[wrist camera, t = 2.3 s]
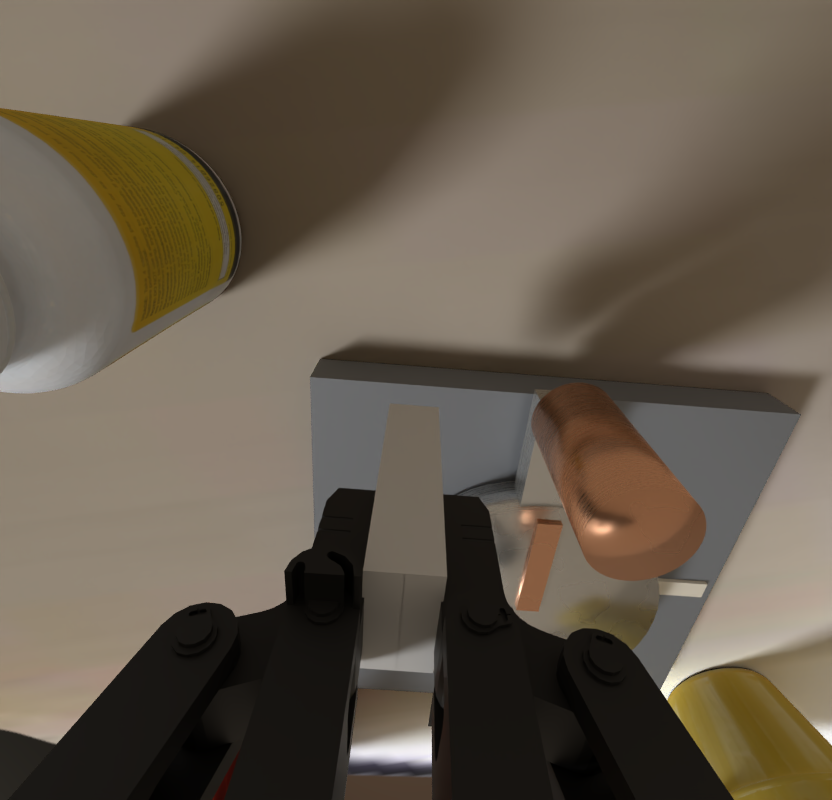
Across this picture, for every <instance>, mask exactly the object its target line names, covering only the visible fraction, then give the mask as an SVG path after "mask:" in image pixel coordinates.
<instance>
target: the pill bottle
mask: <svg viewBox="0 0 832 800" xmlns="http://www.w3.org/2000/svg"><path fill="white" fill-rule="evenodd" d="M241 239H242V238H241V228H240V223H239V218H238V215H237V211H236V209H235V206H234V203H233V201H232V199H231V197H230V195H229V193H228V191H227V189H226V187H225V186H224V184H223V183H222V181H221V180H220V178H219V177H218V176H217V174H216V173H215V172H214V171H213V169H212V168H211V167H210V166H209V165H208V164H207V163H206V162H205V161H204V160H203V159H202V158H201V157H200V156H198V155H197V154H196V153H195V152H193V151H192V150H191V149H189V148H188V147H186V146H185V145H183V144H181V143H180V142H178V141H176V140H174V139H172V138H170V137H168V136H165V135H163V134H160V133H157V132H154V131H150V130H146V129H141V128H135V127H129V126H122V125H115V124H108V123H101V122H94V121H87V120H80V119H73V118H66V117H59V116H52V115H45V114H39V113H31V112H24V111H17V110H10V109H2V108H0V392H8V393H39V392H46V391H53V390H57V389H61V388H65V387H68V386H71V385H74V384H77V383H79V382H81V381H83V380H85V379H87V378H89V377H91V376H93V375H95V374H96V373H98V372H100V371H101V370H103V369H104V368H106V367H108V366H109V365H111V364H112V363H114V362H115V361H117V360H118V359H120V358H122V357H123V356H125V355H126V354H128V353H129V352H131V351H133V350H134V349H136V348H137V347H139V346H140V345H142V344H144V343H145V342H147V341H148V340H150V339H151V338H153V337H155V336H156V335H158V334H159V333H161V332H163V331H164V330H166V329H167V328H169V327H171V326H172V325H174V324H175V323H177V322H179V321H180V320H182V319H183V318H185V317H187V316H188V315H190V314H192V313H193V312H195V311H197V310H198V309H200V308H202V307H203V306H205V305H207V304H208V303H210V302H211V301H213V300H214V299H215V298H216V297H218V296H219V295H220V294H221V293H222V292H223V291H224V290H225V288H226V287H227V286H228V285H229V283H230V282H231V280H232V278H233V276H234V274H235V272H236V270H237V267H238V263H239V259H240V255H241Z"/></svg>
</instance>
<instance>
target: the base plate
mask: <svg viewBox="0 0 832 800" xmlns="http://www.w3.org/2000/svg"><path fill="white" fill-rule="evenodd" d="M569 383H588V384H592V385H595V386H597V387H599V388H601V389H602V390H604V391H605V392H606V393H607V394H608V395H609V397H610V398H611V399H612V400H613V401H614V403H615V404H616V405H617V406H618V407H619V409H620V410H621V411H622V412H623V414H624V415H625V416H626V417H627V418H628V420H629V421H630V422H631V423H632V424H633V426H634V427H635V428H636V429H637V430H638V432H639V433H640V434H641V435H642V436H643V438H644V439H645V440H646V441H647V443H648V444H649V445H650V446H651V447H652V449H653V450H654V451H655V452H656V453H657V455H658V456H659V457H660V458H661V459H662V461H663V462H664V463H665V464H666V466H667V467H668V468H669V469H670V470H671V472H672V473H673V474H674V475H675V476H676V478H677V479H678V480H679V481H680V482H681V484H682V485H683V486H684V487H685V489H686V490H687V491H688V492H689V493H690V495H691V496H692V497H693V498H694V499H695V501H696V502H697V503H698V504H699V505H700V507H701V508H702V510H703V512H704V515H705V517H706V533H705V537H704V539H703V542H702V544H701V545H700V547H699V549H698V550H697V551H696V553H695V554H694V555H693V556H692V557H691V558H690V559H689V560H688V561H686V562H685V563H684V564H682V565H681V566H680V567H678V568H676V569H675V570H673V571H671V572H669V573H666V574H664V575H661V576H658V577H657V578H658V583H659V597H660V598H659V604H658V610H657V613H656V615H655V618H654V621H653V623H652V625H651V627H650V628H649V630H648V632H647V634H646V635H645V636H644V638H643V639H642V640H641V641H640V643H639V644H638V645H637V646H636V647H635V648H634V649H633V650H632V651H633V652H634V653H635V655H636V656H637V657H638V658H639V660H640V661H641V663H642V664H643V666H644V667H645V669H646V670H647V672H648V673H649V674H650V676H651V677H652V679H653V680H654V682H655V683H656V685H657V686H658V688H659V689H661V687H662V685H663V683H664V681H665V679H666V677H667V675H668V673H669V671H670V669H671V667H672V666H673V664H674V662H675V660H676V658H677V656H678V654H679V652H680V650H681V648H682V646H683V644H684V642H685V640H686V638H687V636H688V634H689V632H690V630H691V628H692V626H693V624H694V623H695V621H696V619H697V617H698V615H699V613H700V611H701V609H702V607H703V605H704V603H705V601H706V599H707V597H708V595H709V593H710V591H711V589H712V587H713V585H714V583H715V582H716V580H717V578H718V576H719V574H720V572H721V570H722V568H723V566H724V564H725V562H726V560H727V558H728V556H729V554H730V552H731V550H732V548H733V546H734V544H735V542H736V540H737V539H738V537H739V535H740V533H741V531H742V529H743V527H744V525H745V523H746V521H747V519H748V517H749V515H750V513H751V511H752V509H753V507H754V505H755V503H756V501H757V499H758V498H759V496H760V494H761V492H762V490H763V488H764V486H765V484H766V482H767V480H768V478H769V476H770V474H771V472H772V470H773V468H774V466H775V464H776V462H777V460H778V458H779V456H780V455H781V453H782V451H783V449H784V447H785V445H786V443H787V441H788V439H789V437H790V435H791V433H792V431H793V429H794V427H795V425H796V423H797V421H798V419H799V417H800V415H801V414H799V413H798V412H796V411H795V410H793V409H792V408H790V407H788V406H787V405H785V404H784V403H782V402H781V401H779V400H778V399H776V398H774V397H773V396H771V395H770V394H768V393H756V392H744V391H731V390H718V389H705V388H692V387H679V386H666V385H653V384H640V383H627V382H614V381H601V380H588V379H575V378H562V377H549V376H536V375H524V374H511V373H498V372H485V371H472V370H459V369H446V368H433V367H420V366H407V365H394V364H381V363H368V362H355V361H342V360H329V359H320V360H319V362H318V364H317V366H316V367H315V369H314V371H313V373H312V375H311V376H310V389H311V425H312V461H313V497H314V533H315V537H316V533H317V532H318V527H319V524H320V520H321V519H322V514H323V510H324V507H325V504H326V501H327V499H328V498H329V497H330V496H331V495H332V494H333V493H334V492H335V491H336V490H337V489H338V488H350V489H363V490H376V486H377V480H378V474H379V468H380V461H381V455H382V449H383V443H384V436H385V430H386V424H387V418H388V412H389V405H390V403H391V404H403V405H416V406H429V407H439V423H440V443H441V463H442V484H443V494H447V495H458V494H461V493H463V492H465V491H468V490H470V489H473V488H477V487H480V486H483V485H486V484H491V483H497V482H502V481H510V480H515V478H516V474H517V469H518V464H519V459H520V455H521V450H522V445H523V441H524V436H525V431H526V426H527V422H528V417H529V412H530V408H531V403H532V398H533V393H534V389H542V390H553V389H555V388H557V387H559V386H562V385H565V384H569ZM358 688H364V689H380V690H396V691H412V692H428V693H433V691H434V672H433V673H422V672H407V671H393V670H379V669H364V668H360V669H359V677H358Z"/></svg>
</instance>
